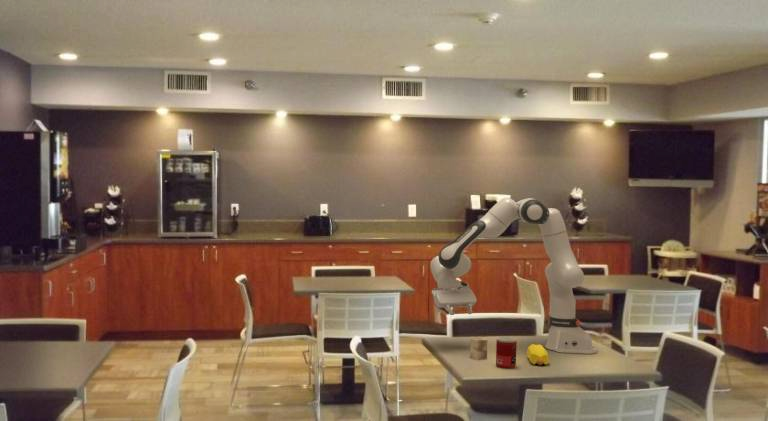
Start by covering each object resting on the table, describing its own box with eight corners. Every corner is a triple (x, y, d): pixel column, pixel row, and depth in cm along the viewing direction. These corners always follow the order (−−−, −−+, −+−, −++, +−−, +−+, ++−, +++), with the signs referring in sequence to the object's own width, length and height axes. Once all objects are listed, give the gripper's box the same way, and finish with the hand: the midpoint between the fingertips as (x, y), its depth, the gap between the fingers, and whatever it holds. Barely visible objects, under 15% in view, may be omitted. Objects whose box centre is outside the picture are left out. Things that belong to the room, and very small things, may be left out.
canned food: (515, 369, 297) (516, 341, 297) (495, 367, 299) (496, 340, 299) (516, 364, 305) (516, 337, 304) (496, 363, 306) (497, 336, 306)
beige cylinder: (479, 356, 319) (480, 337, 319) (486, 358, 314) (487, 339, 314) (470, 357, 316) (470, 338, 316) (477, 359, 312) (477, 340, 312)
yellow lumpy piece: (544, 357, 320) (525, 356, 321) (544, 342, 320) (526, 341, 321) (550, 367, 302) (530, 366, 303) (550, 351, 302) (531, 350, 303)
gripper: (433, 284, 327) (444, 310, 318) (471, 283, 337) (483, 308, 329) (427, 293, 331) (438, 319, 322) (464, 291, 341) (477, 316, 333)
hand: (461, 313), depth 326 cm, fingers open, 8 cm apart
